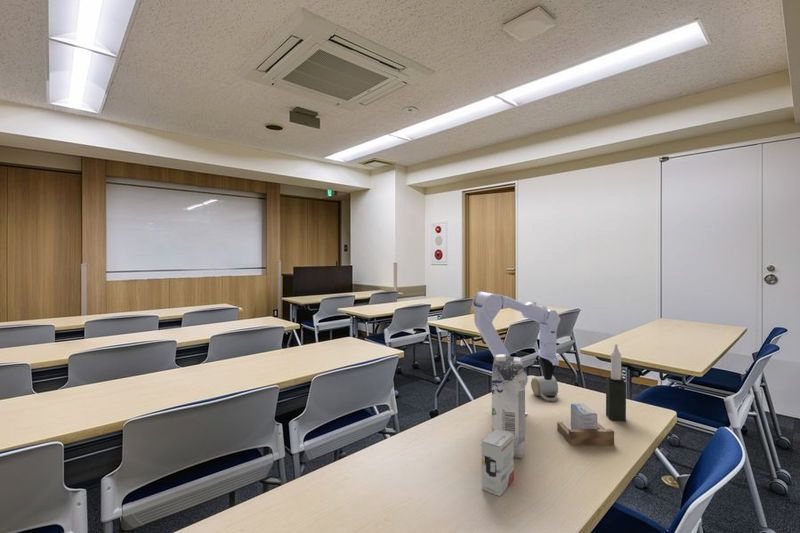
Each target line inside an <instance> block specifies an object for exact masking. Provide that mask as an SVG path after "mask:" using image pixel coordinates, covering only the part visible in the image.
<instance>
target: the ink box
mask: <svg viewBox="0 0 800 533" xmlns="http://www.w3.org/2000/svg"><path fill="white" fill-rule="evenodd" d="M514 459H515V457H514V434H513V433H511V432H507V431H503V430H500V429H495V430H494V431H493V432H492V431H491V432H490V433H489V434H488V435H487V436H486V437H484V439H482V440H481V489H482V490H483V489H484V491H486V492H488V493H490V494H492V493H493V495H495V496H497V495H498V496H497V497H500V496H502V494H503V493H504V492H505V491H506V490H507V488H508V487H509V486H510V485H511V484H512V482H513V481H514V479H515V471H514V470H515V468H514V466H515V462H514V461H515V460H514Z"/></svg>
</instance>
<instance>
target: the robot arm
mask: <svg viewBox="0 0 800 533" xmlns="http://www.w3.org/2000/svg"><path fill="white" fill-rule="evenodd" d="M471 305H472V307H473V317H474V318H473V319H474V324H475V327H476V328H477V330H478V332H479V333H480V336H481V337H482V339H483V341H484V343H485V344H486V346H487V348H488V350H489V351H490V354H491V355H492V356H493V358H494V357H495V356H496V355H499V354H504V355H506V356H510V357H512V356H511V355H510V352H509V351H508V350H507V347H506V346H505V344H504V342H503V340H502V339H501V337H500V335H499V333H498V331H497V330H496V328H495V326H494V324H493V321H494V319H495V318H496V316H498V313H500V311H501V310H504V309H505V308H508V309H511V310H513V311H517V312H520V313H521V315H522V317H523V318H525V319H529V320H532V321H533V322H537V323H538V324H539V349H537V355H538V357H540V358H538V362H539V364H540V367H541V371H542V374H543V376H544V379H545V380H551V379H552V376H554V372H555V369H556V367H557V366H559V365H560V360H559V358H558V357H561V356H560V354H559V353H557V331H558V326H559V324H560V323H561V317H560V315H559V313H558V312H557V311H556V310H554V309H549V308H548V307H547V306H545V305H542V306H541V305H539V304H537V301H533V300H532V301H527V302H526V303H523V302H521V301H518V300H516V299H514V298H512V297H509V296H506V295H502V294H498V293H490V292H485V291H478V292H477V293H476V294H475V296H474V298H473V300H472V302H471ZM524 375H525V387H526V386H527V385H528V381H529V380H528V379H529V378H528V374H527V373H526V372H525V371H524ZM527 415H528V413H527V411H526V410H525V416H527Z"/></svg>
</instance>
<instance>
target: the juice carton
mask: <svg viewBox="0 0 800 533" xmlns="http://www.w3.org/2000/svg"><path fill="white" fill-rule="evenodd" d="M510 356H511V355H510ZM510 356H506V355H504V354H499V355H496V356H495V357H493V364H492V371H491V433H492V432H493V431H494V430H495V429H500V430H503V431H507V432H511V433H513V434H514V459H516V458H517V459H522V458H523V454H524V450H525V445H526V415H525V411H526V386H525V375H524V372H525V371H524V365H523V359H522V357H520V356H511V357H510Z"/></svg>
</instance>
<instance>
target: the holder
mask: <svg viewBox="0 0 800 533" xmlns="http://www.w3.org/2000/svg"><path fill="white" fill-rule="evenodd" d="M597 427H598V429H571V428H568V427H567V425H566V424H565V423H563V421H557V425H556V429H557V432H559V434H560V435H561V436H562V437H563V439H565V441H567V443H568V444H569V445H570V446H615V430H613V429H612V428H605V427H604V426H603V425H602V424H601V423H599V422H598V421H597Z"/></svg>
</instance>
